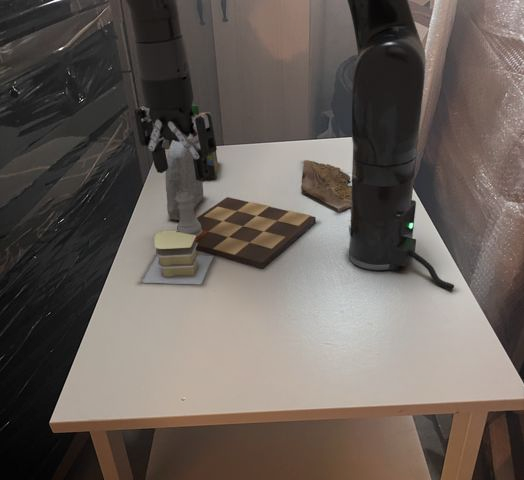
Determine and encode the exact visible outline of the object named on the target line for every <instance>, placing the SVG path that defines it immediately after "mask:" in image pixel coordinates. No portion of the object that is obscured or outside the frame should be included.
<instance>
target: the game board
mask: <svg viewBox="0 0 524 480" xmlns="http://www.w3.org/2000/svg"><path fill="white" fill-rule="evenodd" d="M196 219H198V222H200V224H201V229H202V233H201V235H200V236H199V237H198V238H195V239H194V241H193V242H197V246H196V251H199V252H202V253H205V254H208V255H209V254H210V255H211V256H216V257H218V258H219V257H220V258H223V259H226V260H230V261H233V262H236V263H240V264H243V265H248V266H250V267H255V268H257V269H261V270H263V269H264V268H266V266H268V265H269V264H270V263H271V262H272V261H274V260H275V259H276V258H277V257H278V256H279V255H281V254H282V253H283V252H284V251H285V250H286V249H288V248H289V247H290V246H291V245H292V244H293V243H294V242H295V241H296V240H298V239H299V238H300V237H301V236H302V235H303V234H305V233H306V232H307V231H308V230H310V228H312V227H313V226H314V225H315V224H316V221H317V219H316V216H313V215H310V214H307V213H302V212H298V211H294V210H287V209H282V208H278V207H274V206H270V205H267V204H264V203H263V204H262V203H258V202H254V201H246V200H242V199H239V198H233V197H229V196H226V197H225V198H224V199H222V200H221V201H219V202H218V203H216V204H215V205H212V207H210V208H209V209H207V210H206V211H204V212H203V213H202V214H200V215H198V216H197V217H196ZM175 232H178V230H177V231H175Z"/></svg>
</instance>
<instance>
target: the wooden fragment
mask: <svg viewBox="0 0 524 480" xmlns="http://www.w3.org/2000/svg"><path fill="white" fill-rule="evenodd" d="M301 173H302V174H301V182H300V183H301V185H300V191H301V192H304V193H306V194H308V195H311V196H312V197H314V198H316V199H318V200H319V201H322V202H324V203H325V204H327V205H329V206H331V207H334V208H336V209H337V214H339V213H340V212H343V211H345V210H347V209H349V208H351V194H352V185H349V183H348V182H349V181H350V180H351V177H350V175H349V174H347V173H346V172H344V171H342V170H341V168H340V167H336V166H334V165H331V164H328V163H327V164H325V163H322V162H321V163H319V162H316V161H314V160H309V159H304V160H303V166H302V172H301Z"/></svg>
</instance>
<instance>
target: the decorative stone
mask: <svg viewBox="0 0 524 480" xmlns="http://www.w3.org/2000/svg"><path fill="white" fill-rule="evenodd" d="M191 138H193V137H192V135H191V133H190V135H189V137H188V139H191ZM194 145H195V147H196V148H197V149H198V147H197V146H196V144H194ZM166 158H167V163H168V169H167V170H166V171H165V172H164V173H165V192H166V208H167V210H166V211H167V214H168V216H169V218H170V219H172V220H175V221H180V211H179V208H178V205H179V203H178V202H177V201H176V200H175V198H176V196H177V195H176V193H177V192H178V193H179V190H182V192H184V189H187V192H188V190H190V191H191V194H193V196H194V198H193V200H192V203H193V204H194V206H193V210H194V211H195V209H196V207H197V206H198V205H199V204H200V202H202V200H203V199H204V184H203V180H202V181H197V180H196V175H195V169H194V162H193V159H194V157H193V155H192V154H191V152H190V151H189V150H188V149H187V148H185V147H184V146H183V145H182V143H181V142H177V141H174V140H172V143H171V145H170V148H169V147H168V151H167V154H166Z"/></svg>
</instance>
